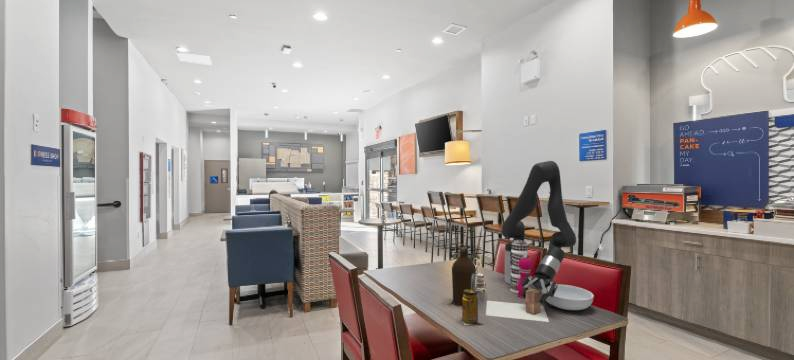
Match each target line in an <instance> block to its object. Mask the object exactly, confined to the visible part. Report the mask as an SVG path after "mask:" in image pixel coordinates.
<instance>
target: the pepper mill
mask: <svg viewBox="0 0 794 360" xmlns="http://www.w3.org/2000/svg"><path fill="white" fill-rule="evenodd" d="M518 265H519V267H520V270H519V271H520V274H521V275H520V280H519V282H518V284H517V290H518V291H519V292H518V293H517V297H518V298H520V299H524V300H526V297H525V298H523V297H522V296H521V292H522V291H523V289H524V288H523V287H522V285H521V283H522V282H523V280H524V279H525V277H526V275H527V274H529V275H530V273H531V272H532V271H531V268H532V266H533V263H532V261H531V260H530V259H529V258H527V256H526V255H524V256H523V258H522V259H520V260H519V262H518ZM531 285H532V286H533V284H531ZM529 287H530V286H529Z"/></svg>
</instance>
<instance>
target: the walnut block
mask: <svg viewBox="0 0 794 360" xmlns="http://www.w3.org/2000/svg"><path fill="white" fill-rule="evenodd" d="M541 296H542V291H541V290H540V289H537V288H534V289H530V290H526V299H525V304H526V312H528V313H530V314H533V315H535V314H538V313H541V306H542V304H540V302H539V300H540V298H541Z"/></svg>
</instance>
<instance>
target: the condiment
mask: <svg viewBox="0 0 794 360" xmlns="http://www.w3.org/2000/svg"><path fill="white" fill-rule="evenodd" d="M463 293H464V295H463V296H464V297H463V300H462V306H461V309H462V311H461V312H462V313H461V315H462V316H461V317H462V319H460V321H461V323H462V324H463V325H464V326H476V325H478V326H479V325H480V326H481V325H483V323H481V322H479V321H478V320H479V318H478V317H479V315H478V314H479V298H478V292H477V291H476V289H475V290H471V289H467V290H464V292H463Z"/></svg>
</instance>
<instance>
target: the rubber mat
mask: <svg viewBox="0 0 794 360" xmlns="http://www.w3.org/2000/svg"><path fill="white" fill-rule="evenodd" d="M545 309H546V308H545V307H544V305H541V313H538V314H535V315H533V314H530V313H528V312H526V303H516V302H514V303H513V302H505V301H496V300H495V301H494V300H486V309H485V310H486V311H485V316H489V317H501V318H506V319H507V318H508V319H516V320H517V319H518V320H525V321H526V320H527V321H535V322H536V321H537V322H546V323H550V321H549V318H548V315H547V312H546V310H545Z"/></svg>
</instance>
